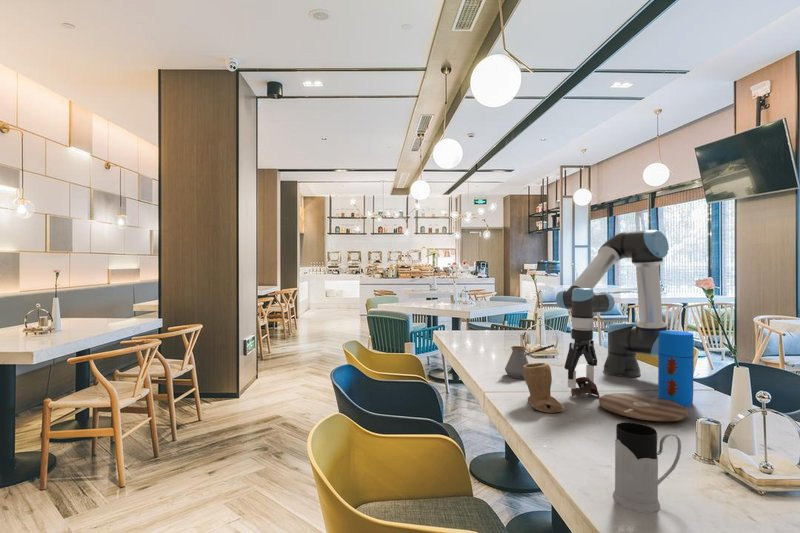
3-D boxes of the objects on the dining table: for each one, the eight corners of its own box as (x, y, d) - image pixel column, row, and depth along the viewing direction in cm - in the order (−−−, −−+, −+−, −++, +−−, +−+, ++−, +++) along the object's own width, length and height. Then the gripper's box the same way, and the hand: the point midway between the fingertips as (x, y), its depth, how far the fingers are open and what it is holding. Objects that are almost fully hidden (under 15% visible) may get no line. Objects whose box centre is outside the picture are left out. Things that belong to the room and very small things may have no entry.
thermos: (654, 401, 157) (655, 332, 157) (661, 395, 165) (662, 329, 165) (690, 408, 150) (690, 336, 149) (695, 401, 157) (696, 332, 157)
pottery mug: (605, 402, 158) (597, 383, 156) (580, 411, 159) (572, 393, 158) (593, 384, 169) (585, 367, 168) (570, 394, 171) (562, 377, 169)
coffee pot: (503, 378, 188) (503, 343, 188) (506, 372, 199) (506, 339, 199) (555, 382, 182) (555, 347, 182) (555, 376, 192) (555, 342, 192)
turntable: (619, 391, 164) (619, 388, 164) (699, 409, 144) (699, 406, 144) (584, 405, 147) (584, 402, 147) (670, 427, 127) (670, 424, 127)
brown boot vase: (519, 399, 158) (520, 358, 158) (553, 401, 157) (553, 359, 157) (527, 413, 143) (528, 368, 143) (564, 415, 142) (565, 369, 142)
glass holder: (604, 490, 94) (604, 421, 94) (665, 487, 96) (665, 419, 95) (629, 513, 85) (629, 437, 85) (695, 510, 87) (696, 435, 87)
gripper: (588, 325, 174) (587, 378, 174) (555, 330, 159) (554, 388, 158) (607, 327, 169) (606, 382, 169) (574, 332, 153) (573, 392, 153)
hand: (581, 385), depth 164 cm, fingers open, 13 cm apart
